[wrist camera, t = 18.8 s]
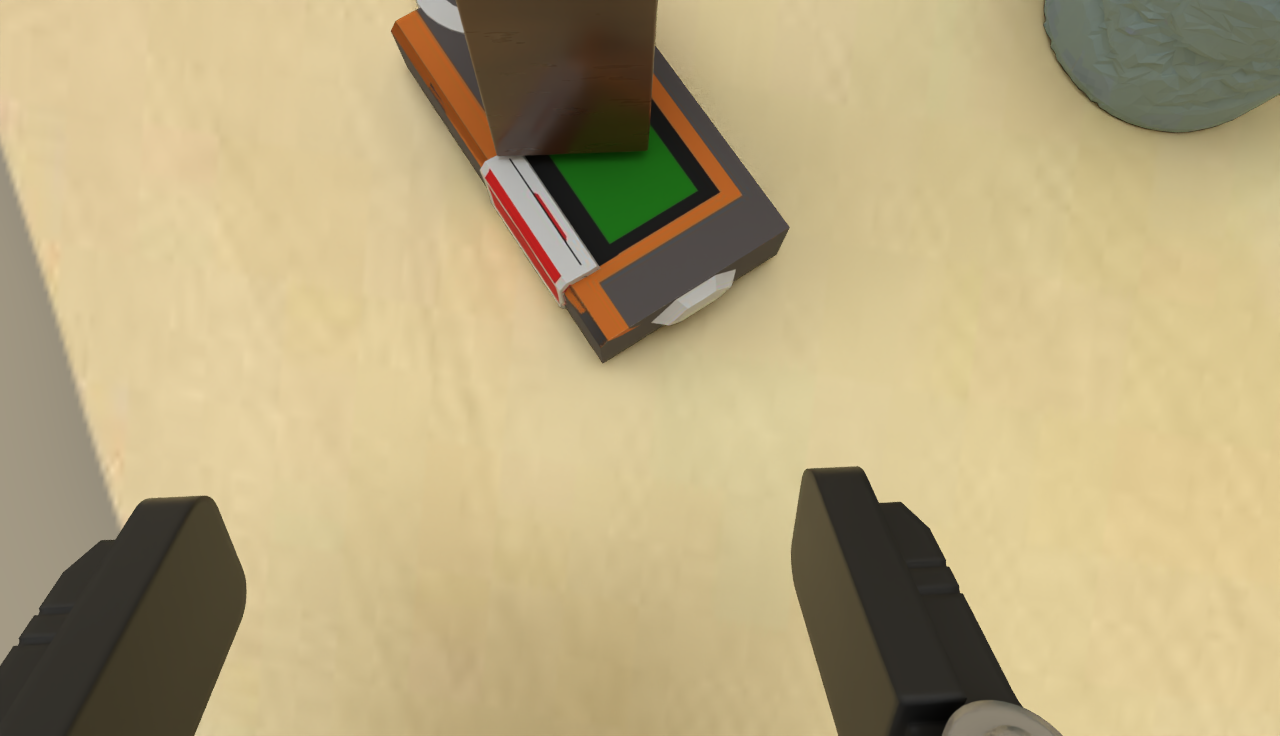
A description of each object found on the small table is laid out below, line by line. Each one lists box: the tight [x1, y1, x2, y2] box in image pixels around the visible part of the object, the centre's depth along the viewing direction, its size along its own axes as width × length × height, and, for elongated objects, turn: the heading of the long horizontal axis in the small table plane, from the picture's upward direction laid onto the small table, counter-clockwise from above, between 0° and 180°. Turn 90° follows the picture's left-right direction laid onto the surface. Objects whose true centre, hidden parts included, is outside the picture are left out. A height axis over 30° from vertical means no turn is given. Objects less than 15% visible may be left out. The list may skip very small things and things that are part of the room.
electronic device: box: [391, 0, 790, 363], centre depth 25 cm, size 7×3×15 cm
